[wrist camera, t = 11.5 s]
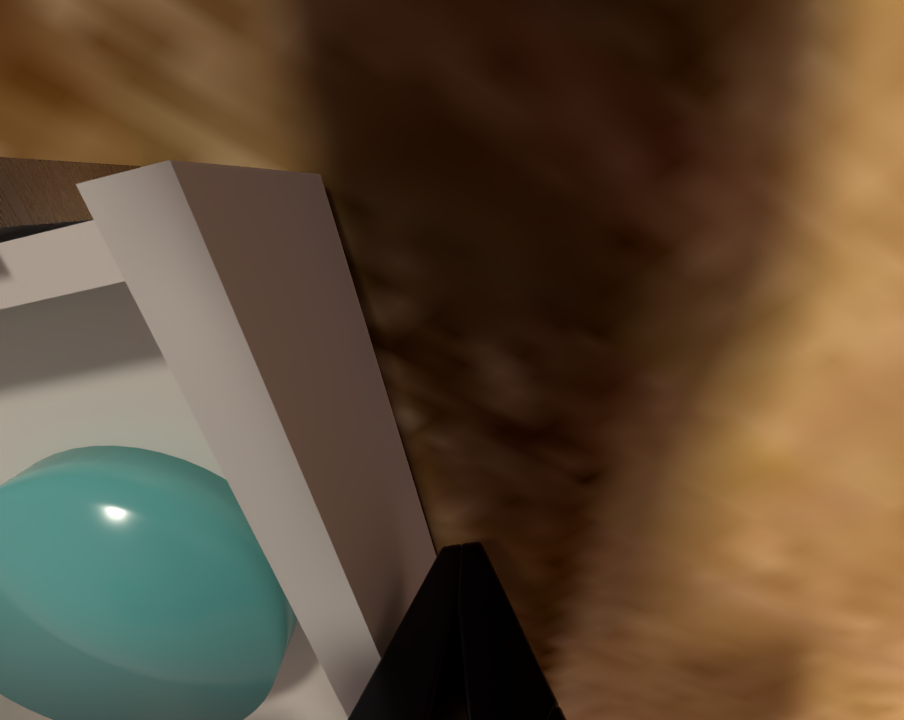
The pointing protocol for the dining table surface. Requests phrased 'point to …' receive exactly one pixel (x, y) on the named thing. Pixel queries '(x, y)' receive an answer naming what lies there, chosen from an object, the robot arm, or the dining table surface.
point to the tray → (227, 392)
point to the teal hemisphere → (134, 591)
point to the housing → (45, 194)
